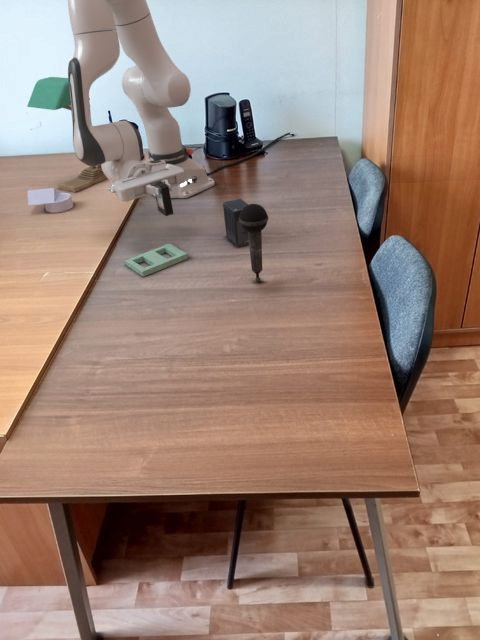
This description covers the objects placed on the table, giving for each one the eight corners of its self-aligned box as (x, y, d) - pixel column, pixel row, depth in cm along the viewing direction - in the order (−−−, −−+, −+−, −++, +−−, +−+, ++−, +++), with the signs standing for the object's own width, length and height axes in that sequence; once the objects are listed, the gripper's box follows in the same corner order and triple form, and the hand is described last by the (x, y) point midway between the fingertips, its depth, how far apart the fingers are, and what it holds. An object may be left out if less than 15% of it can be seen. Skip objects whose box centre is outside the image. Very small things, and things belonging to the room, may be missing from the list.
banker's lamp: (121, 176, 201) (98, 73, 180) (79, 195, 187) (49, 86, 166) (92, 170, 208) (67, 71, 187) (49, 188, 194) (18, 83, 173)
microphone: (243, 276, 134) (236, 200, 122) (270, 274, 135) (266, 197, 123) (245, 290, 129) (238, 212, 117) (273, 287, 129) (269, 209, 117)
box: (255, 242, 150) (252, 206, 143) (236, 247, 148) (233, 211, 141) (243, 232, 155) (240, 197, 149) (225, 237, 153) (222, 202, 147)
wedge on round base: (31, 215, 175) (71, 211, 176) (24, 195, 171) (65, 191, 172) (36, 204, 182) (75, 201, 183) (30, 185, 178) (69, 181, 179)
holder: (170, 248, 150) (169, 243, 149) (188, 258, 144) (187, 253, 143) (126, 265, 143) (125, 260, 142) (143, 276, 137) (142, 271, 136)
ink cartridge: (158, 211, 146) (152, 183, 141) (165, 209, 147) (160, 180, 142) (166, 216, 143) (160, 187, 138) (173, 214, 144) (168, 185, 139)
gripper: (102, 176, 142) (128, 189, 134) (167, 158, 152) (194, 168, 144) (108, 199, 146) (133, 213, 137) (170, 179, 156) (197, 191, 147)
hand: (165, 190), depth 141 cm, fingers closed on ink cartridge, 1 cm apart
